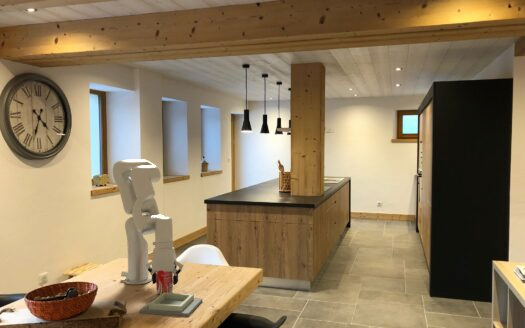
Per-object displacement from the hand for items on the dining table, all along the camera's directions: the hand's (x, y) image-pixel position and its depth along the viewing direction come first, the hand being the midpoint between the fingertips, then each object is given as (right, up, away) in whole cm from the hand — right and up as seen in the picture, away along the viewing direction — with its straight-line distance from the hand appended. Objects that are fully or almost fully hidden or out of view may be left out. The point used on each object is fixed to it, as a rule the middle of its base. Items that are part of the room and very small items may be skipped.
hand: (165, 283), depth 182 cm
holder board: (+7, -5, -16) cm, 18 cm away
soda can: (0, -5, 0) cm, 5 cm away
